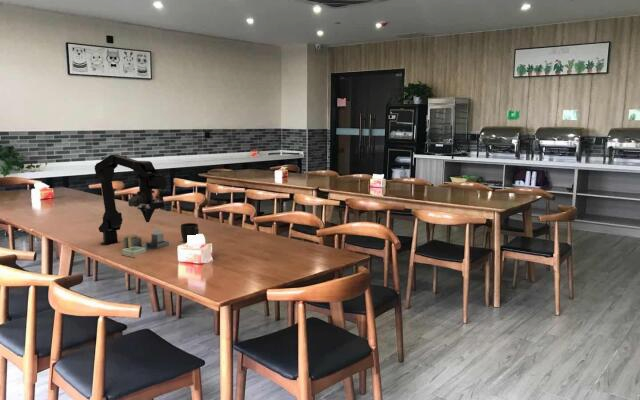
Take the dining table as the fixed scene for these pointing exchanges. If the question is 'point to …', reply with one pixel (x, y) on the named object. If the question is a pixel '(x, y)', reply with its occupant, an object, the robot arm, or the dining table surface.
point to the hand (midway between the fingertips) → (147, 222)
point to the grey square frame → (133, 251)
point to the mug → (188, 230)
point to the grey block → (157, 236)
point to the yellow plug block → (130, 239)
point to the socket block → (144, 244)
